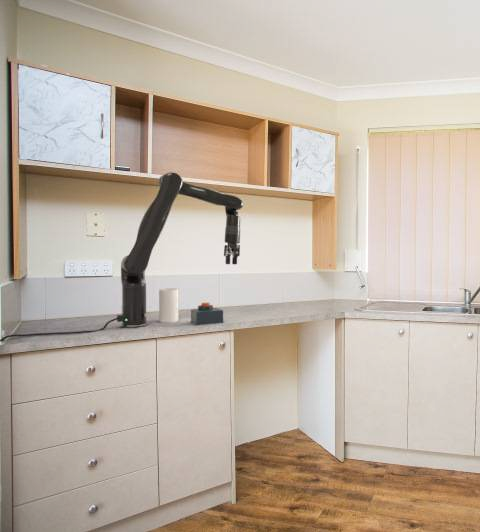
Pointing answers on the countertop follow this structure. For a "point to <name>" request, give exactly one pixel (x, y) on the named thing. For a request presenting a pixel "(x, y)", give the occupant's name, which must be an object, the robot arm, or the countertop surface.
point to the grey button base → (206, 315)
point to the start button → (205, 304)
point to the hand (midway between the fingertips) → (231, 264)
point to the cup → (168, 305)
